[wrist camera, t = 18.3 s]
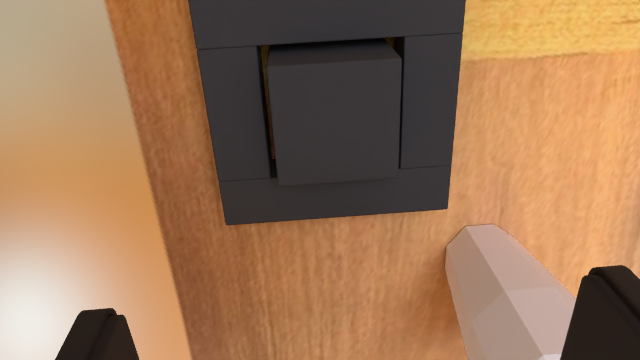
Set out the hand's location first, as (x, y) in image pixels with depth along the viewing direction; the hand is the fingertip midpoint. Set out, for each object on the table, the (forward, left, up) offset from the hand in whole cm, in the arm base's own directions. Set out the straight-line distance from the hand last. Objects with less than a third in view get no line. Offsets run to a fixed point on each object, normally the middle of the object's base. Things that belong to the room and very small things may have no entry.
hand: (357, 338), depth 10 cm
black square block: (+1, +1, -18) cm, 18 cm away
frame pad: (+1, +1, -18) cm, 18 cm away
